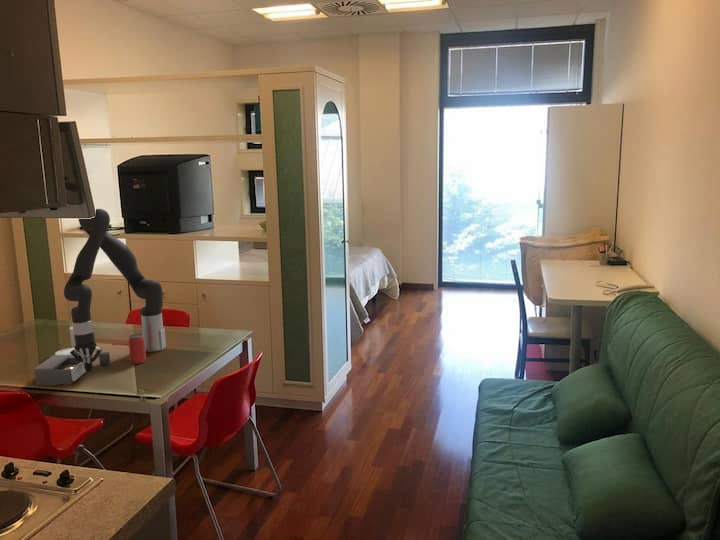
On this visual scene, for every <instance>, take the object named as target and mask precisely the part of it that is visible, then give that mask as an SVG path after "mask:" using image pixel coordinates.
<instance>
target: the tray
mask: <svg viewBox="0 0 720 540" xmlns="http://www.w3.org/2000/svg"><path fill="white" fill-rule="evenodd" d="M63 366H67V365H59V366H58V367H56V368H55V369H54V370H58V369H59V368H60V367H63ZM73 366H74V368H73V369H72V370H71V377H72V381H75V382H76V381H77V380H78V379H80V378H81V377H82V376H83V375H84V374H85V373H86V372H87V371H86V370H85V367H84V363H83V362H80V363H79V364H78V365H73ZM83 373H84V374H83ZM82 374H83V375H82Z"/></svg>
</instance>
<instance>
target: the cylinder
mask: <svg viewBox="0 0 720 540" xmlns="http://www.w3.org/2000/svg"><path fill="white" fill-rule="evenodd" d="M98 362H99V366H100V367H107V366H110V365H111V357H110V352H109V351H101V353H100V355H99V356H98Z"/></svg>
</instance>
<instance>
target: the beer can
mask: <svg viewBox="0 0 720 540" xmlns="http://www.w3.org/2000/svg"><path fill="white" fill-rule="evenodd" d="M128 348H129V349H128V351H129V359H130V363H131V364H134V365H137V364H138V365H139V364H142V363H145V362H146V361H147V351H145V341H144V338H143V333H142V334H141V333H136V334H131V335H129V337H128Z"/></svg>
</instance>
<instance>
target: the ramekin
mask: <svg viewBox="0 0 720 540" xmlns="http://www.w3.org/2000/svg"><path fill="white" fill-rule="evenodd" d="M74 349H75V348H72V347H68V348H63V349H61V350H58V351H56V352H55V353H54V355H70V357H73V356H72V355H71V354H70V352H71V351H72V350H74ZM78 353H79V352H78ZM79 354H80V353H79ZM80 355H81V354H80Z"/></svg>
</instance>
